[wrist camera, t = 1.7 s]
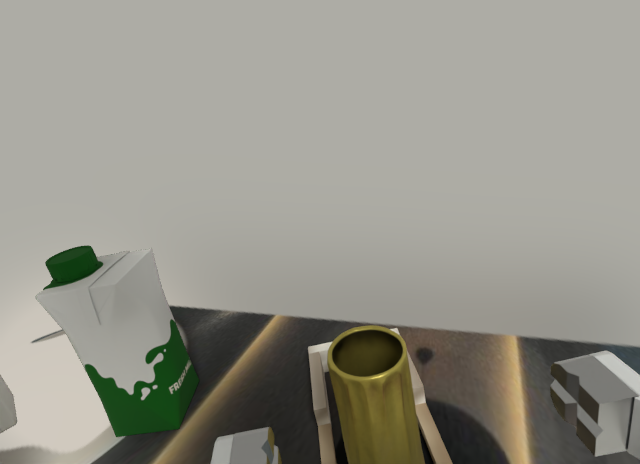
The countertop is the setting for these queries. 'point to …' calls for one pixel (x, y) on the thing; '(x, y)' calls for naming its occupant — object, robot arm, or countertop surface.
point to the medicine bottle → (6, 407)
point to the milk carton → (123, 336)
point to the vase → (375, 397)
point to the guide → (323, 414)
